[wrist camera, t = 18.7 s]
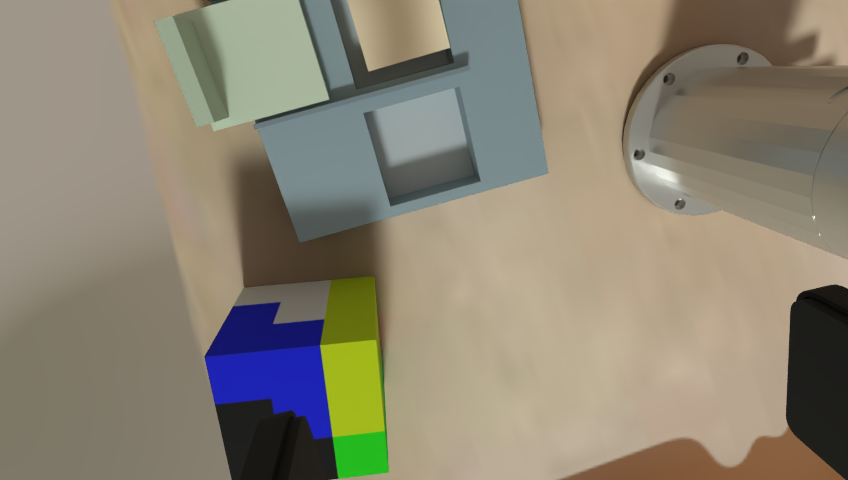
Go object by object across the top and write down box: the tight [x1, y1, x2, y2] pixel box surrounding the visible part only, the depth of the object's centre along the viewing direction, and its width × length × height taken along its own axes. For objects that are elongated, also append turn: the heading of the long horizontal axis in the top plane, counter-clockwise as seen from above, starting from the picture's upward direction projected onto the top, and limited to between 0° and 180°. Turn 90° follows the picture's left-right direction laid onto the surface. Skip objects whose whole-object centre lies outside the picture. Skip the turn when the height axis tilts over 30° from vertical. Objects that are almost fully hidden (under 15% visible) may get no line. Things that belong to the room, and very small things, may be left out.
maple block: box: [347, 0, 450, 72], centre depth 30 cm, size 4×4×8 cm
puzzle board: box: [209, 0, 548, 243], centre depth 33 cm, size 18×16×4 cm
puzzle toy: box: [205, 276, 389, 480], centre depth 36 cm, size 10×10×10 cm
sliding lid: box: [154, 0, 330, 131], centre depth 29 cm, size 7×7×4 cm
